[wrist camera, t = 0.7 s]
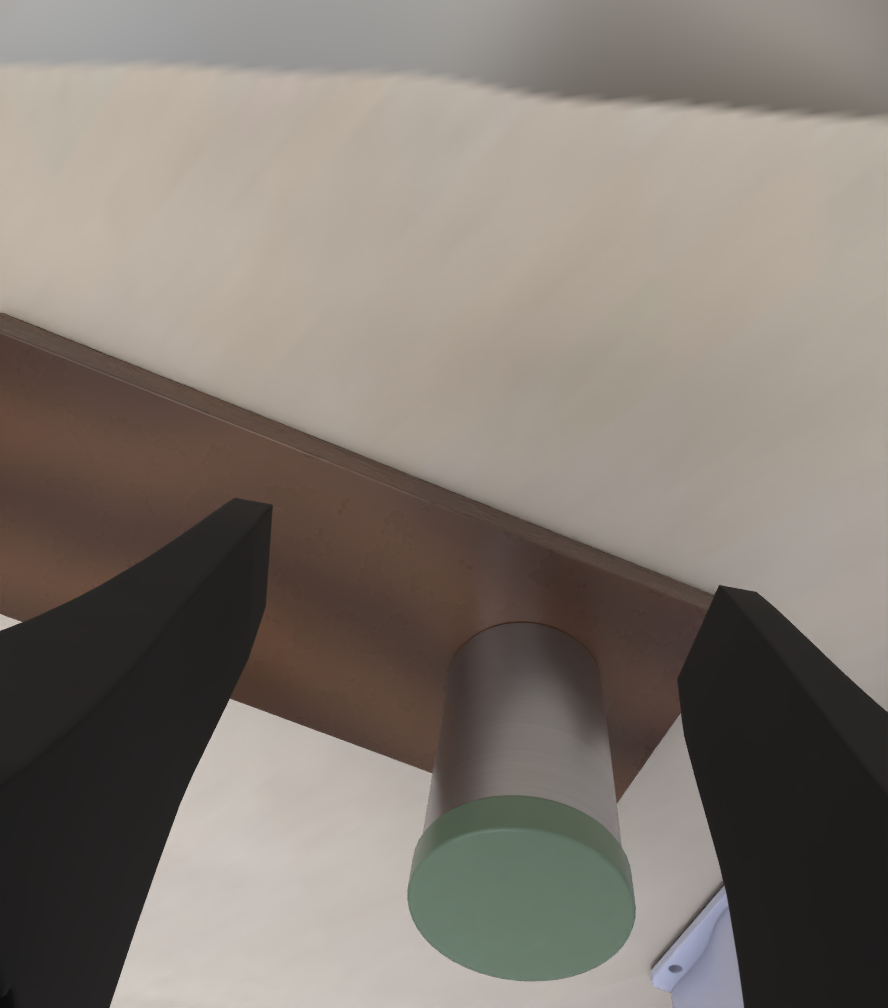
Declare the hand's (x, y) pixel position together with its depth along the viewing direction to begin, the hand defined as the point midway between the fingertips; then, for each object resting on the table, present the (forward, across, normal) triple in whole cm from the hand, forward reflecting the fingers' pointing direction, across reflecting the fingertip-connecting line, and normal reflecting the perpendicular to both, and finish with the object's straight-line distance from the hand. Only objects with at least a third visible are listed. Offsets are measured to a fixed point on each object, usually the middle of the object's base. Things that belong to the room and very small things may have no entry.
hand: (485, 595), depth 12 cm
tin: (+9, -3, +10) cm, 14 cm away
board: (+11, +4, +9) cm, 14 cm away
